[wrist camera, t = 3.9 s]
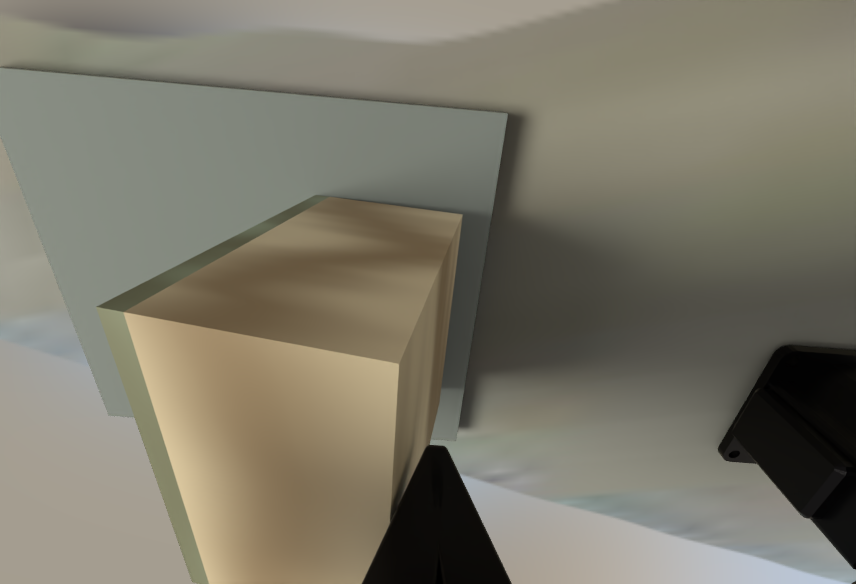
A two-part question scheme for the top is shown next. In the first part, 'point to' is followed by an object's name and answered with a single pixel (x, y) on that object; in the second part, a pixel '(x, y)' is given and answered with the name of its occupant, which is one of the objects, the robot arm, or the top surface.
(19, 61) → the top surface
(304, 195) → the slate mat
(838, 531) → the robot arm
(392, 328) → the tile block
